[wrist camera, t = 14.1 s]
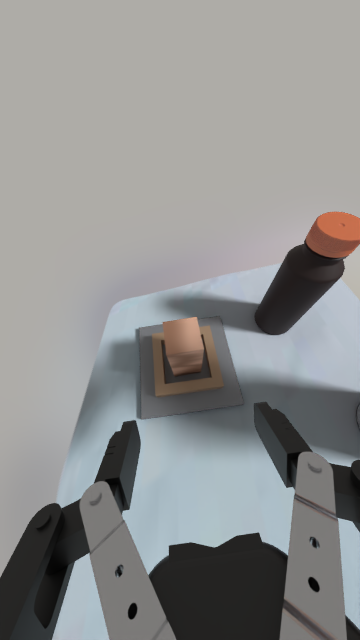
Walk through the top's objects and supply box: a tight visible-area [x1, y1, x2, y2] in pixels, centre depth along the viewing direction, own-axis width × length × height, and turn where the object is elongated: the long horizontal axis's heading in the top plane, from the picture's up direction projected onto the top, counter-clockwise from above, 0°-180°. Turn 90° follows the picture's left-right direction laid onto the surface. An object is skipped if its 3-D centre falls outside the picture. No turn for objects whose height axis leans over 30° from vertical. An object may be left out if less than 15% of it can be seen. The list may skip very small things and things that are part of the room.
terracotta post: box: [163, 317, 204, 376], centre depth 28 cm, size 4×4×11 cm
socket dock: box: [139, 316, 244, 419], centre depth 32 cm, size 16×16×3 cm
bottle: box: [255, 212, 360, 335], centre depth 28 cm, size 7×7×20 cm
